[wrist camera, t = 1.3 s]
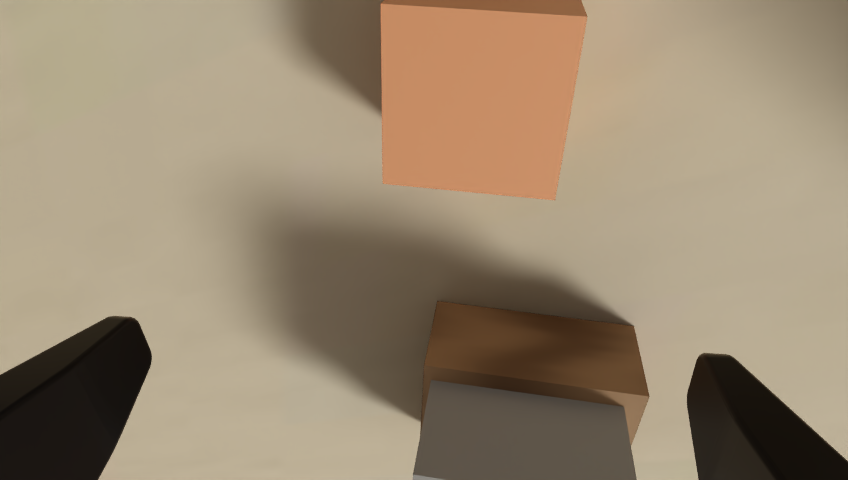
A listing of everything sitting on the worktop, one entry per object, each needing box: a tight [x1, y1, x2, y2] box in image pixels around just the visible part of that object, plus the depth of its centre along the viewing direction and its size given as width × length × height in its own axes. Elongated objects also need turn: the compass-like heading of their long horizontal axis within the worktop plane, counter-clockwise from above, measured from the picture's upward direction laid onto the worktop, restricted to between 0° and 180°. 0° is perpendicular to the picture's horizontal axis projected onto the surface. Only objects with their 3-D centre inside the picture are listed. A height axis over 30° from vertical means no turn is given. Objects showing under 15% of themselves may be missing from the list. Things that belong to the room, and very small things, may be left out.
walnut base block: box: [420, 301, 649, 445], centre depth 25 cm, size 8×8×4 cm
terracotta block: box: [381, 0, 587, 200], centre depth 17 cm, size 5×5×4 cm
